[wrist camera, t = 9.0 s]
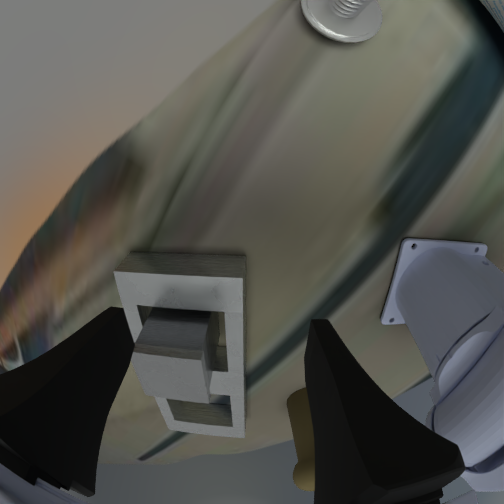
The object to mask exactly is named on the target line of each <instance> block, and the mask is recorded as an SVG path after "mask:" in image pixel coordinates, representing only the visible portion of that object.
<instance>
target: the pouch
mask: <svg viewBox="0 0 504 504" xmlns="http://www.w3.org/2000/svg"><path fill="white" fill-rule="evenodd" d="M480 2H481V3H482V4H483V5H484V6H485V7H486V9H487V10H488V11H489V12H490V14H491V15H492V16H493V18H494V19H495V20H496V22H497V23H498V25H499V26H500V28H501V29H502V31H503V32H504V0H480Z"/></svg>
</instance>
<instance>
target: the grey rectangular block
mask: <svg viewBox="0 0 504 504" xmlns="http://www.w3.org/2000/svg"><path fill="white" fill-rule="evenodd" d="M219 337H220V331H219V319H218V311H203V310H189V309H176V308H164V307H153V308H152V310H151V312H150V314H149V316H148V318H147V320H146V322H145V324H144V326H143V328H142V330H141V332H140V334H139V336H138V338H137V340H136V342H135V347H134V351H133V354H132V358H131V362H132V364H133V367H134V369H135V371H136V374H137V376H138V379H139V381H140V383H141V385H142V388H143V390H144V392H145V394H146V395H149V396H155V397H161V398H167V399H174V400H181V401H189V402H198V403H207V404H209V402H210V397H211V393H210V383H211V378H212V373H213V368H214V363H215V357H216V352H217V347H218V342H219Z"/></svg>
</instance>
